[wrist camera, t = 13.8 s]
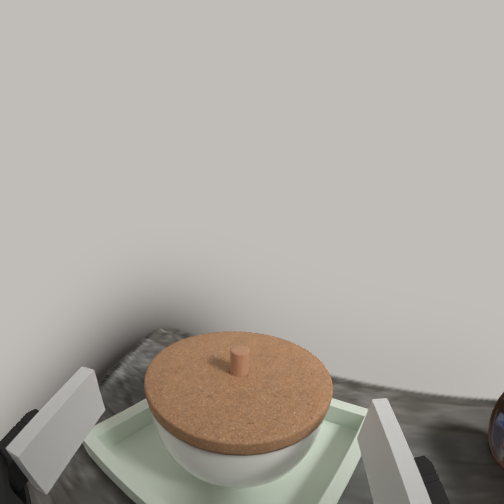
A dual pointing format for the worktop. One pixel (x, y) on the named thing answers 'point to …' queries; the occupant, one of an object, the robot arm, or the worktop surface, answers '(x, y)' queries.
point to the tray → (215, 497)
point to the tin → (497, 432)
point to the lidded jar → (237, 405)
